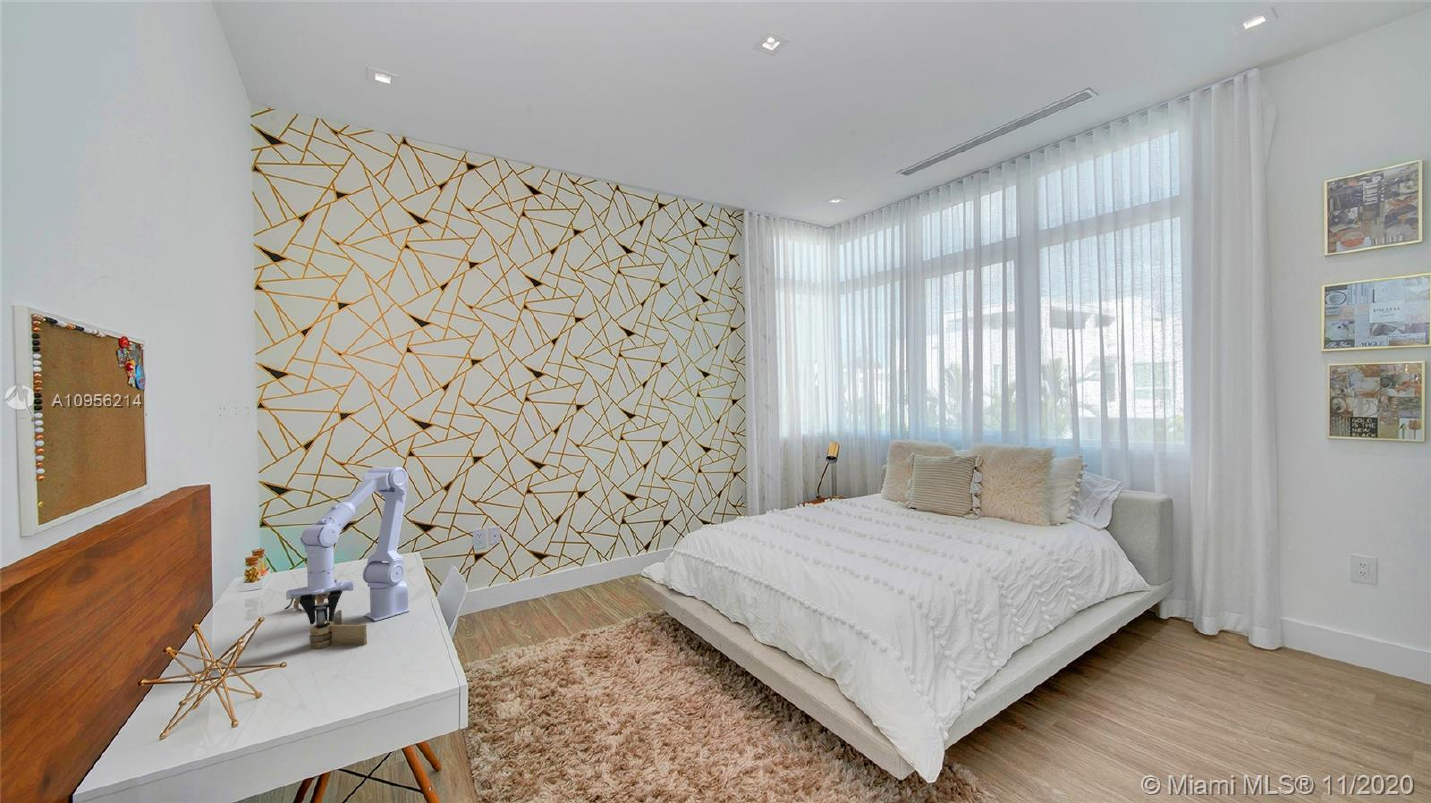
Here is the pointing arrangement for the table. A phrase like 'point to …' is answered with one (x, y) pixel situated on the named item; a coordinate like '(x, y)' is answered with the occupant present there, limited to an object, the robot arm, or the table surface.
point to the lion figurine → (318, 598)
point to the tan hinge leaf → (339, 635)
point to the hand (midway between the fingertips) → (322, 621)
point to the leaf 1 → (337, 621)
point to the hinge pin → (321, 615)
